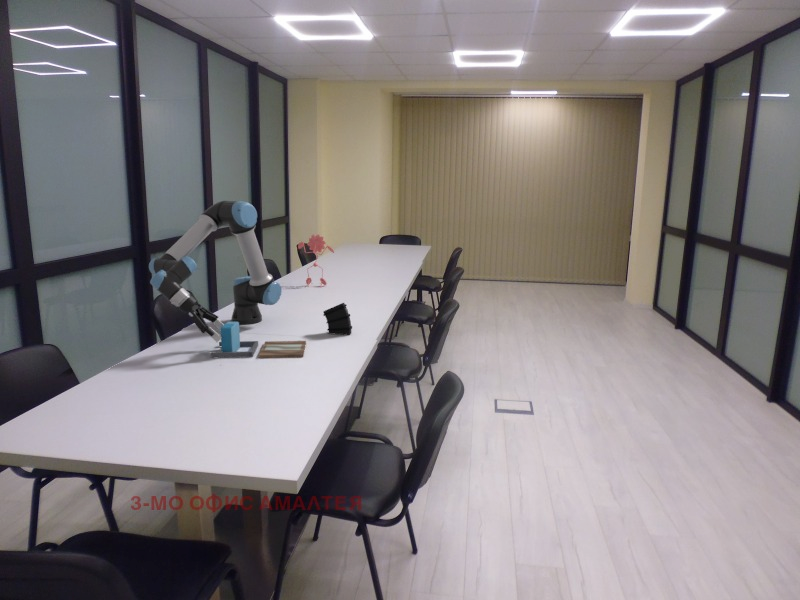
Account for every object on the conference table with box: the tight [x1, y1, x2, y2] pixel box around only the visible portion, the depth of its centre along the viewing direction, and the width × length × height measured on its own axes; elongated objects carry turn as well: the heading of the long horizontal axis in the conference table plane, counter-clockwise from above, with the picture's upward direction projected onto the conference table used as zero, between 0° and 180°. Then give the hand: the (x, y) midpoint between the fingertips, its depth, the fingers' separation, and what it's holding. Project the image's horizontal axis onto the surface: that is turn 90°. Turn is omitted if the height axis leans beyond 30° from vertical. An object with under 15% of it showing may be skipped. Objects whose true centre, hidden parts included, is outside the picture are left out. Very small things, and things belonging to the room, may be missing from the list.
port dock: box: [258, 340, 307, 359], centre depth 246 cm, size 20×18×1 cm
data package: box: [220, 321, 241, 352], centre depth 242 cm, size 12×4×12 cm, turn 0°
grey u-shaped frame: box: [210, 340, 259, 359], centre depth 244 cm, size 16×17×2 cm
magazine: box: [322, 302, 353, 336], centre depth 272 cm, size 4×13×15 cm, turn 76°
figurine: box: [297, 234, 335, 287], centre depth 389 cm, size 15×26×35 cm, turn 80°
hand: (223, 335), depth 241 cm, fingers open, 13 cm apart
